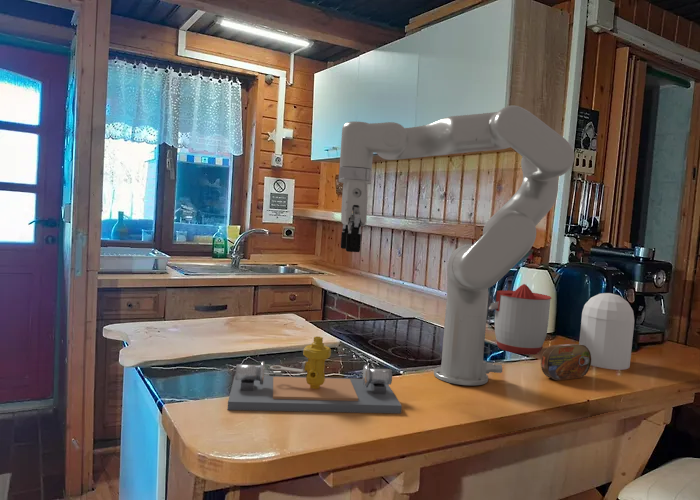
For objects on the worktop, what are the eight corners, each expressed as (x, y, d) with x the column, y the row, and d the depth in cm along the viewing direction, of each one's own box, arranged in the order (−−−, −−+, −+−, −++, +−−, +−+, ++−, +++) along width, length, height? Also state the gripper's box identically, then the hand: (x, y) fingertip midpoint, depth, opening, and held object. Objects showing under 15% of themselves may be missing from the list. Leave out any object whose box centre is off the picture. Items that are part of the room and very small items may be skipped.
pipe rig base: (384, 386, 118) (385, 377, 118) (401, 413, 102) (401, 403, 102) (234, 382, 113) (234, 372, 113) (227, 409, 98) (228, 398, 97)
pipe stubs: (387, 387, 112) (388, 363, 111) (391, 395, 107) (393, 369, 107) (236, 383, 108) (237, 358, 107) (234, 391, 103) (236, 364, 103)
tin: (546, 381, 130) (550, 347, 130) (537, 377, 133) (540, 344, 133) (590, 377, 137) (594, 344, 137) (580, 373, 140) (583, 341, 139)
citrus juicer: (482, 341, 170) (488, 278, 168) (540, 347, 167) (546, 283, 166) (488, 353, 154) (494, 284, 153) (551, 360, 152) (558, 289, 151)
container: (629, 373, 144) (636, 298, 142) (574, 363, 150) (582, 292, 149) (629, 362, 156) (637, 293, 154) (579, 354, 162) (586, 287, 161)
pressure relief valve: (324, 393, 104) (328, 341, 104) (264, 385, 106) (267, 335, 105) (330, 384, 110) (333, 335, 109) (273, 377, 112) (276, 329, 111)
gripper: (377, 175, 118) (372, 254, 119) (365, 180, 135) (360, 248, 136) (343, 172, 117) (338, 252, 118) (335, 177, 134) (330, 246, 135)
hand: (349, 250), depth 127 cm, fingers open, 9 cm apart
